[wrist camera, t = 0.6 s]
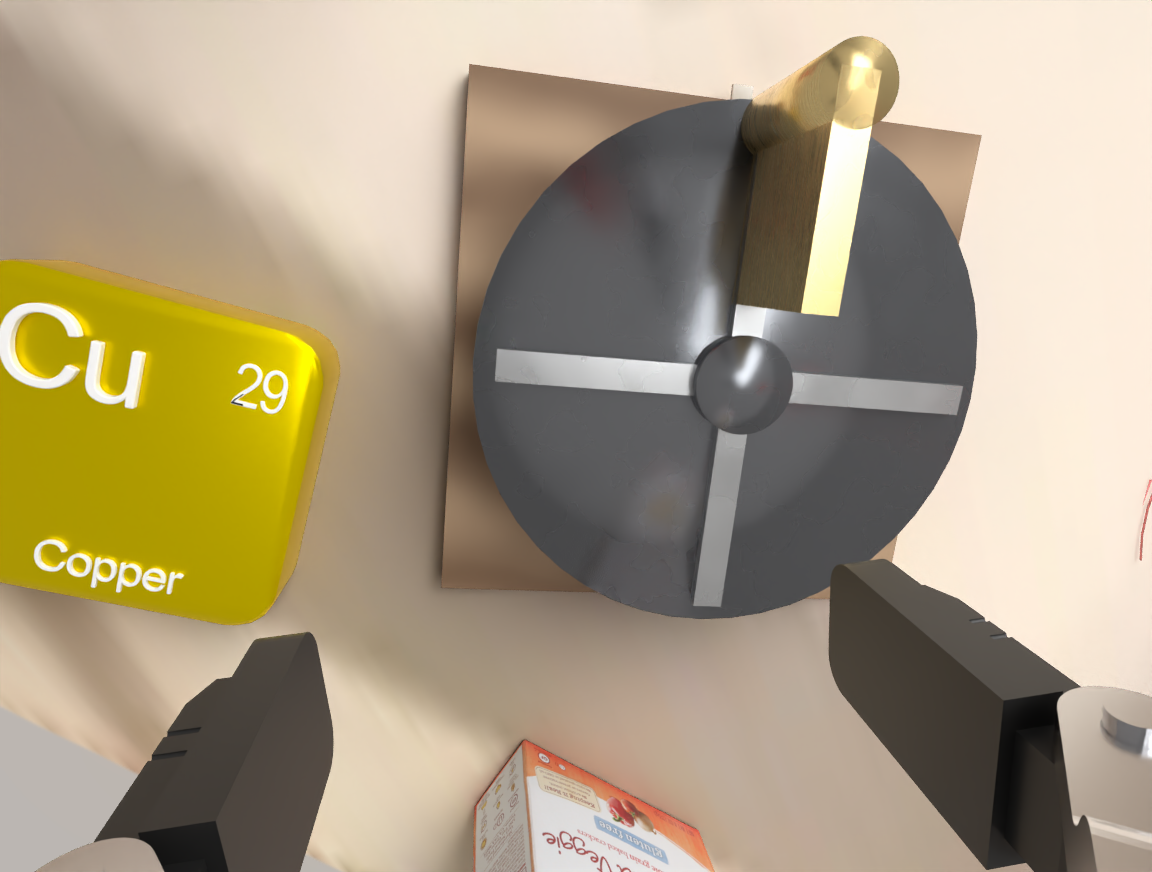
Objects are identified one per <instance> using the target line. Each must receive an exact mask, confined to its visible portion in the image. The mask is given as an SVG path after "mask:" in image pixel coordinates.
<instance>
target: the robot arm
mask: <svg viewBox="0 0 1152 872" xmlns="http://www.w3.org/2000/svg"><path fill="white" fill-rule="evenodd" d="M829 661H830V667H831V671H832V674H833V677H834V680H835V682H836V684H837V686H838V688H839V690H840V692H841V693H842V695H843V696H844V697H845V698H846V700H847V701H848V702H849V703H850V704H851V706H852V707H853V708H854V709H855V710H856V712H857V713H858V714H859V715H860V717H861V718H862V719H863V720H864V721H865V723H866V724H867V725H868V726H869V728H870V729H871V730H872V731H873V732H874V734H875V735H876V736H877V737H878V738H879V740H880V741H881V742H882V743H883V745H884V746H885V747H886V748H887V749H888V751H889V752H890V753H891V754H892V756H893V757H894V758H895V759H896V760H897V762H898V763H899V764H900V765H901V766H902V768H903V769H904V770H905V771H906V773H907V774H908V775H909V776H910V777H911V779H912V780H913V781H914V782H915V784H916V785H917V786H918V787H919V788H920V790H921V791H922V792H923V793H924V794H925V796H926V797H927V798H928V799H929V801H930V802H931V803H932V804H933V805H934V807H935V808H936V809H937V810H938V812H939V813H940V814H941V815H942V816H943V818H944V819H945V820H946V821H947V823H948V824H949V825H950V826H951V827H952V829H953V830H954V831H955V832H956V833H957V835H958V836H959V837H960V838H961V840H962V841H963V842H964V843H965V844H966V846H967V847H968V848H969V849H970V851H971V852H972V853H973V854H974V855H975V857H976V858H977V859H978V860H979V861H980V863H981V864H982V865H983V866H984V868H985V869H986V870H989V869H994V868H1000V867H1005V866H1011V865H1016V864H1021V863H1027V864H1028V865H1029V866H1030V867H1031V869H1032V870H1033V871H1034V872H1152V697H1150V696H1147V695H1144V694H1140V693H1137V692H1133V691H1129V690H1125V689H1119V688H1113V687H1102V686H1087V687H1081V686H1079V685H1078V684H1076V683H1075V682H1074V681H1072V680H1071V679H1069V678H1068V677H1067V676H1065V675H1064V674H1062V673H1061V672H1060V671H1058V670H1057V669H1055V668H1054V667H1053V666H1051V665H1050V664H1048V663H1047V662H1046V661H1044V660H1043V659H1042V658H1040V657H1039V656H1037V655H1036V654H1035V653H1033V652H1032V651H1030V650H1029V649H1028V648H1026V647H1025V646H1023V645H1022V644H1021V643H1019V642H1018V641H1016V640H1015V639H1014V638H1012V637H1010V638H1008V637H1007V635H1006V633H1005V632H1004V631H1003V630H1001V629H1000V628H998V627H997V626H996V625H994V624H993V623H991V622H990V621H988V622H986V621H985V618H984V617H983V616H982V615H980V614H979V613H977V612H976V611H975V610H973V609H972V608H970V607H969V606H968V605H966V604H965V603H964V602H962V601H961V600H959V599H957V598H955V597H953V596H950V595H948V594H945V593H943V592H940V591H938V590H935V589H933V588H931V587H928V586H926V585H921V584H919V583H918V582H917V581H915V580H914V579H913V578H911V577H910V576H909V575H907V574H906V573H905V572H903V571H902V570H901V569H899V568H898V567H897V566H895V565H894V564H893V563H891V562H890V561H888V560H886V559H877V560H869V561H861V562H854V563H846V564H839V565H836V566H835V567H834V569H833V571H832V574H831V580H830V617H829ZM332 758H333V727H332V720H331V715H330V710H329V705H328V699H327V694H326V689H325V684H324V679H323V673H322V668H321V663H320V658H319V653H318V648H317V644H316V641H315V638H314V636H313V635H312V634H311V633H310V632H306V633H298V634H291V635H283V636H275V637H268V638H260V639H256V640H255V641H254V642H253V643H252V644H251V646H250V648H249V649H248V651H247V653H246V654H245V656H244V658H243V659H242V661H241V663H240V664H239V666H238V668H237V669H236V671H235V673H234V674H233V676H232V677H230V678H222V679H216V680H215V681H214V682H213V683H211V684H210V685H209V686H208V687H207V688H205V689H204V690H203V691H202V692H200V693H199V694H198V695H197V696H195V697H194V698H193V699H192V700H191V701H189V702H188V703H187V704H186V705H185V706H184V708H183V709H182V711H181V712H180V714H179V715H178V717H177V718H176V720H175V721H174V723H173V724H172V726H171V727H170V729H169V730H168V735H167V737H164V738H163V739H162V741H161V742H160V744H159V745H158V747H157V748H156V750H155V751H154V753H153V754H152V760H151V761H148V762H147V763H146V765H145V766H144V768H143V769H142V771H141V772H140V774H139V775H138V777H137V778H136V780H135V781H134V783H133V784H132V786H131V787H130V789H129V790H128V792H127V793H126V795H125V796H124V798H123V799H122V801H121V802H120V803H119V805H118V806H117V808H116V809H115V811H114V813H113V814H112V815H111V817H110V819H109V820H108V821H107V823H106V824H105V826H104V828H103V829H102V830H101V832H100V833H99V835H98V837H97V838H96V839H95V841H94V843H91V844H87V845H85V846H82V847H80V848H77V849H74V850H72V851H70V852H68V853H66V854H64V855H62V856H60V857H58V858H56V859H54V860H52V861H51V862H49V863H47V864H46V865H44V866H42V867H41V868H39V869H38V870H36V871H35V872H300V870H301V866H302V863H303V859H304V856H305V853H306V850H307V846H308V843H309V840H310V836H311V833H312V830H313V826H314V823H315V820H316V816H317V813H318V810H319V806H320V803H321V800H322V796H323V793H324V790H325V786H326V783H327V780H328V776H329V773H330V769H331V765H332Z"/></svg>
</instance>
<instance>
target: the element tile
mask: <svg viewBox="0 0 1152 872" xmlns="http://www.w3.org/2000/svg"><path fill="white" fill-rule="evenodd" d="M339 377H340V364H339V359H338V354H337V351H336V349H335V348H334V346H333V344H332V343H331V341H330V340H329V339H328V338H327V337H325V336H324V335H323V334H321V333H320V332H319V331H317V330H315V329H313V328H311V327H309V326H307V325H304V324H300V323H296V322H293V321H289V320H285V319H282V318H278V317H274V316H271V315H267V314H264V313H260V312H256V311H253V310H249V309H245V308H242V307H238V306H234V305H231V304H227V303H223V302H220V301H216V300H212V299H209V298H205V297H201V296H198V295H194V294H190V293H187V292H183V291H179V290H176V289H172V288H168V287H165V286H161V285H157V284H154V283H150V282H147V281H143V280H139V279H136V278H132V277H128V276H125V275H121V274H117V273H114V272H110V271H106V270H103V269H99V268H95V267H92V266H88V265H84V264H81V263H77V262H70V261H63V260H21V259H10V260H1V261H0V582H1V583H6V584H11V585H17V586H22V587H27V588H32V589H38V590H43V591H48V592H53V593H59V594H64V595H69V596H75V597H80V598H85V599H90V600H96V601H101V602H106V603H112V604H117V605H122V606H127V607H133V608H138V609H143V610H148V611H154V612H159V613H164V614H170V615H175V616H180V617H185V618H191V619H196V620H201V621H207V622H212V623H217V624H222V625H240V624H246V623H251V622H253V621H255V620H257V619H259V618H260V617H262V616H264V615H265V614H266V613H267V611H268V610H269V609H270V608H271V606H272V605H273V604H274V602H275V601H276V599H277V598H278V596H279V594H280V593H281V591H282V590H283V588H284V586H285V585H286V583H287V582H288V580H289V578H290V577H291V575H292V574H293V571H294V569H295V567H296V564H297V560H298V556H299V551H300V547H301V543H302V538H303V534H304V529H305V525H306V521H307V516H308V512H309V508H310V503H311V499H312V494H313V490H314V486H315V481H316V477H317V473H318V468H319V464H320V460H321V455H322V451H323V446H324V442H325V438H326V433H327V429H328V425H329V420H330V416H331V412H332V407H333V403H334V398H335V394H336V390H337V385H338V381H339Z"/></svg>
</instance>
